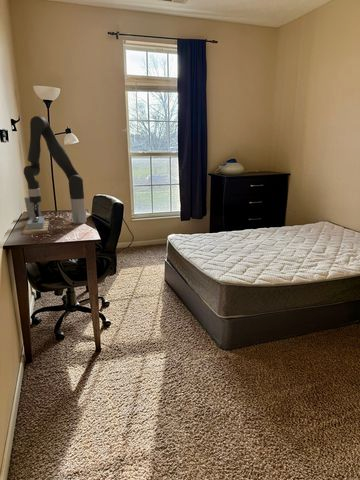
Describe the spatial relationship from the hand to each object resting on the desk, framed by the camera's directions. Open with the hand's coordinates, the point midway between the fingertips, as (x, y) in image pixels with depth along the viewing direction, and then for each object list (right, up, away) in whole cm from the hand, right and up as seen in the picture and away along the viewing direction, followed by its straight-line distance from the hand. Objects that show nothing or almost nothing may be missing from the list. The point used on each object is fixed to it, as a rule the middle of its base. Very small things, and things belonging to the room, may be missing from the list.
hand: (37, 219), depth 226 cm
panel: (+4, -4, -12) cm, 13 cm away
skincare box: (-11, +3, +20) cm, 23 cm away
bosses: (+5, -5, -14) cm, 16 cm away
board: (+5, -6, -12) cm, 15 cm away
